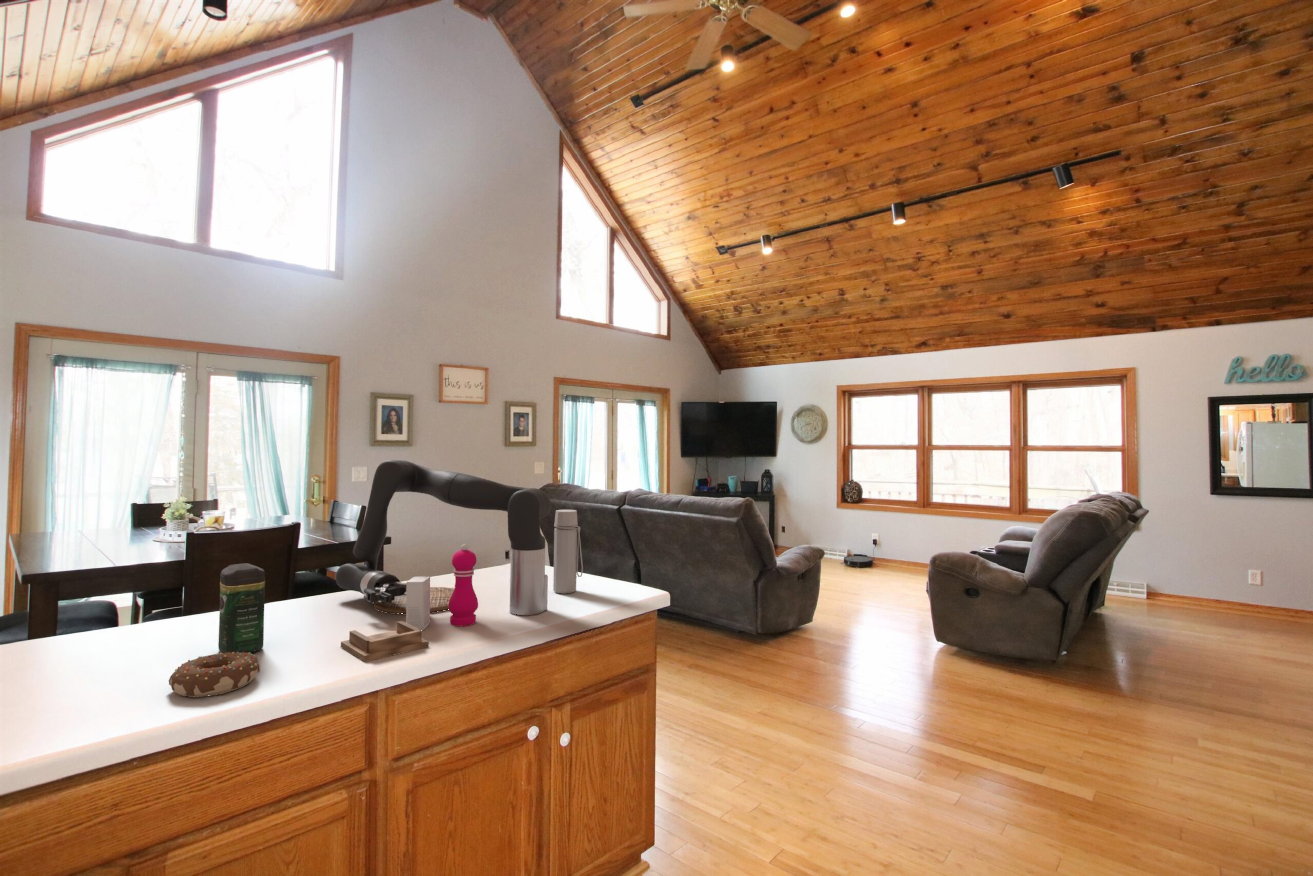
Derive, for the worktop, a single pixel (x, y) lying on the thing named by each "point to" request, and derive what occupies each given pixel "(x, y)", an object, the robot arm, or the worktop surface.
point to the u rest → (385, 642)
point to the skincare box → (418, 602)
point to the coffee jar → (241, 608)
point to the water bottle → (566, 551)
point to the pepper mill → (463, 589)
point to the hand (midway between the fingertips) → (407, 596)
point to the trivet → (437, 601)
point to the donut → (214, 674)
